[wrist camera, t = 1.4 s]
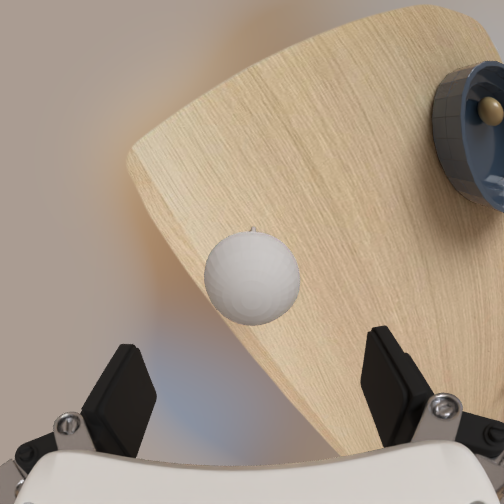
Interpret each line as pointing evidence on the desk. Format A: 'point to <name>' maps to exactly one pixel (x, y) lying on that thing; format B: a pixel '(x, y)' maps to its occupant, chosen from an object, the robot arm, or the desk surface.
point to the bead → (490, 111)
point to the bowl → (471, 133)
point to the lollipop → (252, 278)
